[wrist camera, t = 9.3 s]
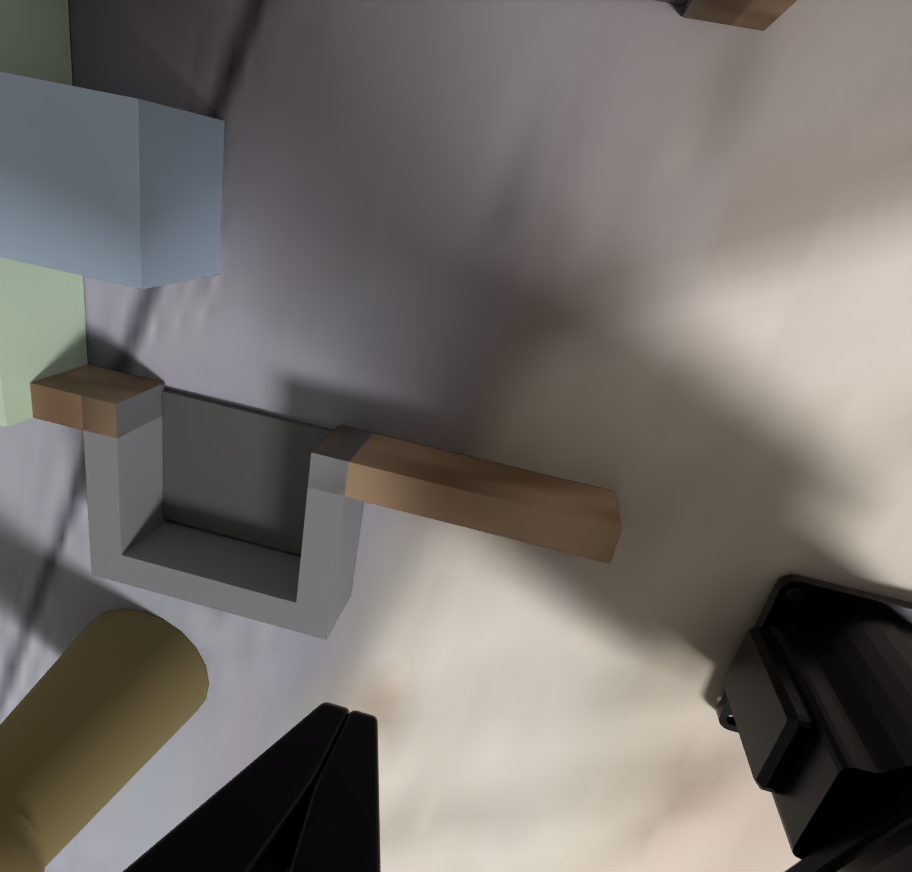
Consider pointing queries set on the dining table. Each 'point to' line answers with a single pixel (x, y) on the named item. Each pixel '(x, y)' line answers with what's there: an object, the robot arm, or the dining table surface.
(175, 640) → the cork
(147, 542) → the trap pockets
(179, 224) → the slate block
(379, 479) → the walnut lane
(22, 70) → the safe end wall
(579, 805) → the dining table surface
